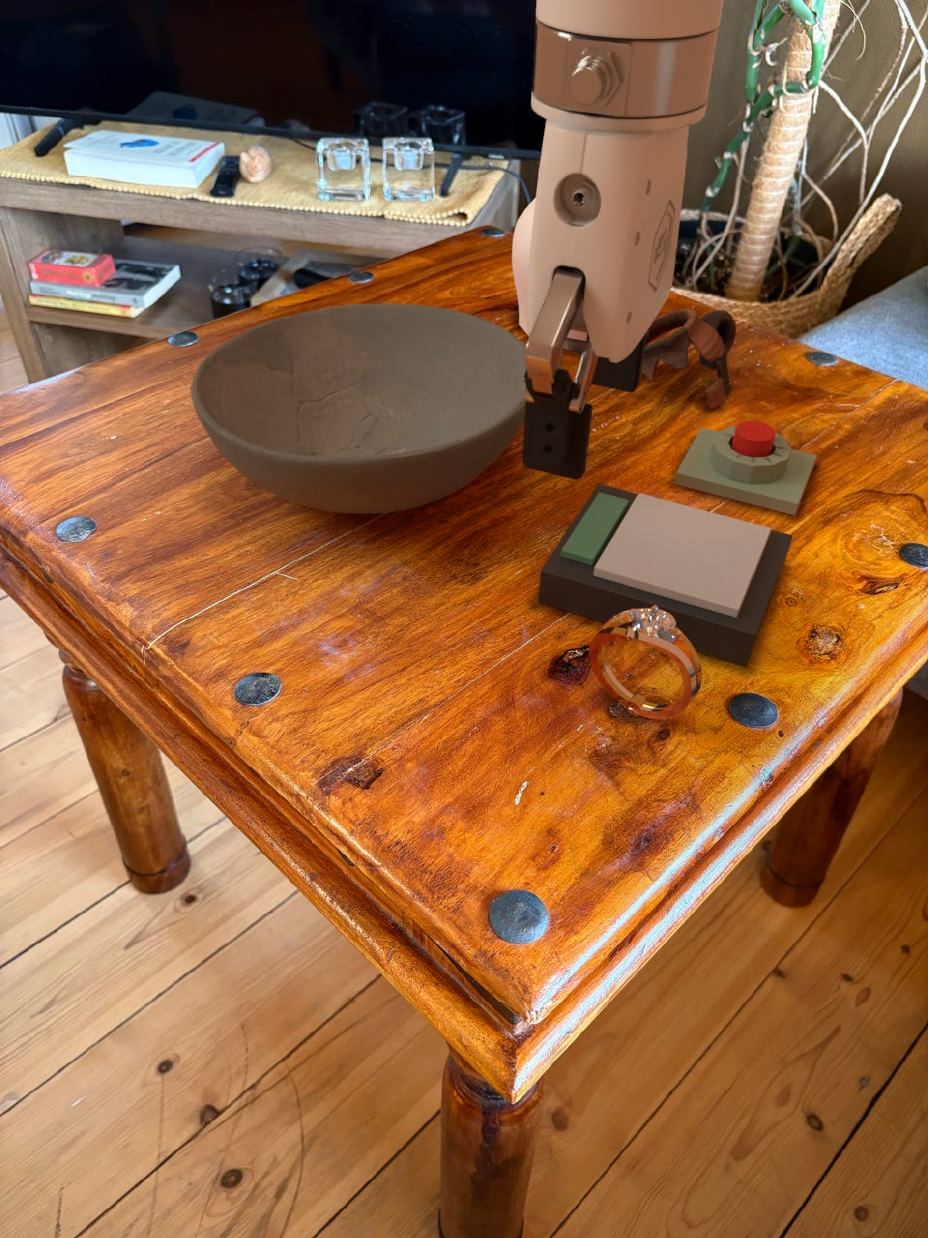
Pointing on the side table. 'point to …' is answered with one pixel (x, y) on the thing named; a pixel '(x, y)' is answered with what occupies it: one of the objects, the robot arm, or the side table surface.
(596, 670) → the ring
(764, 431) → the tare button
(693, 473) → the grey button housing
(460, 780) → the side table surface
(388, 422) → the bowl
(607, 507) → the scale
